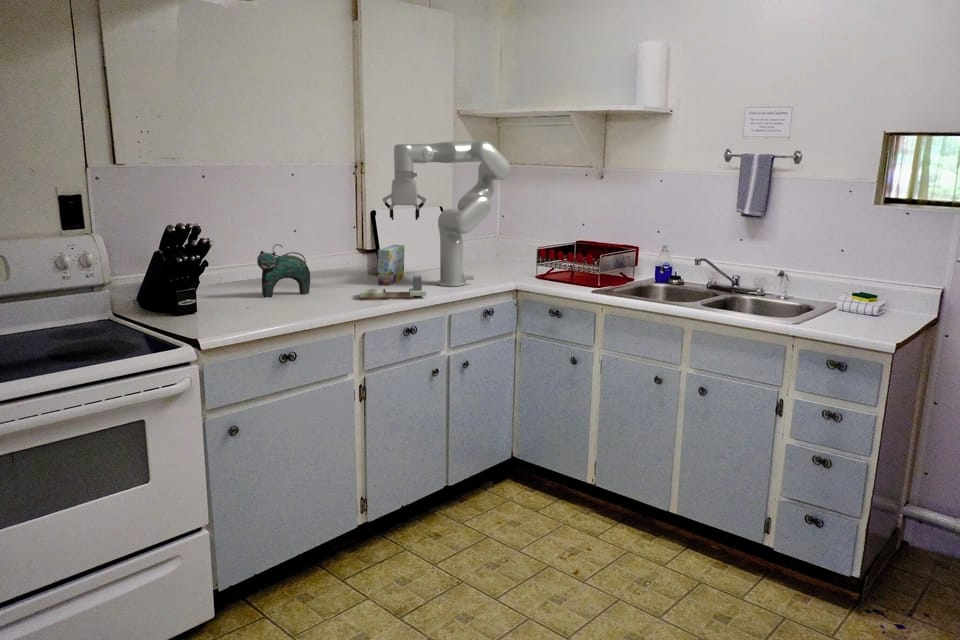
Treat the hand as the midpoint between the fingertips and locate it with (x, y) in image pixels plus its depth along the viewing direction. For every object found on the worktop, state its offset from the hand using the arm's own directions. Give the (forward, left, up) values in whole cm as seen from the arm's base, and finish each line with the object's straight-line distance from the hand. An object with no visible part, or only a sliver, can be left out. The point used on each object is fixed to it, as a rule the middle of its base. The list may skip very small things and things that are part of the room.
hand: (404, 219), depth 292 cm
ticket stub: (-4, +17, -27) cm, 32 cm away
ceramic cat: (+47, +9, -29) cm, 56 cm away
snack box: (+5, -20, -29) cm, 35 cm away
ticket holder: (+8, +17, -28) cm, 34 cm away
